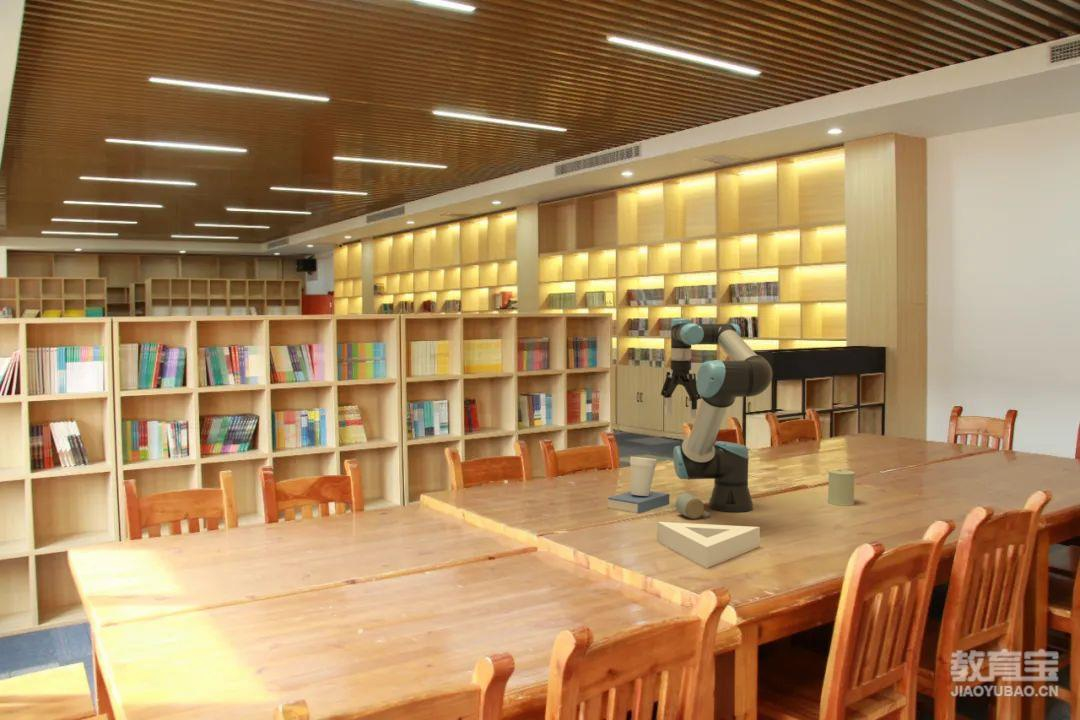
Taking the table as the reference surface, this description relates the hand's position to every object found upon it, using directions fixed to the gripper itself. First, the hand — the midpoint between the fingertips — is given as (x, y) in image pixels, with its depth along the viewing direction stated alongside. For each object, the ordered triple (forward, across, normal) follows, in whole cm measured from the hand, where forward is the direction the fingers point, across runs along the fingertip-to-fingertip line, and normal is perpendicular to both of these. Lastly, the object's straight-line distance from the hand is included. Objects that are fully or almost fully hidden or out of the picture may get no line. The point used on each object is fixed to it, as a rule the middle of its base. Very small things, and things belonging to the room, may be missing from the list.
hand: (680, 416), depth 314 cm
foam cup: (+27, -4, +22) cm, 35 cm away
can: (+31, -36, -46) cm, 66 cm away
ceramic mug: (+31, -26, +16) cm, 43 cm away
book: (+31, -4, +22) cm, 38 cm away
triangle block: (+31, -62, +37) cm, 79 cm away
